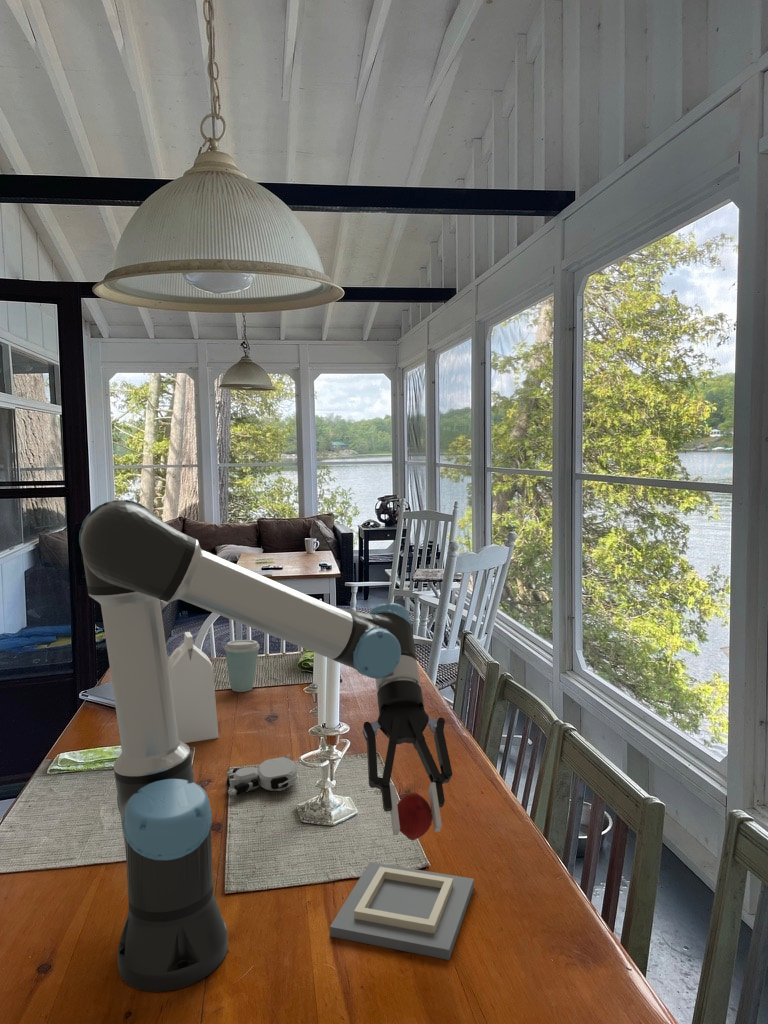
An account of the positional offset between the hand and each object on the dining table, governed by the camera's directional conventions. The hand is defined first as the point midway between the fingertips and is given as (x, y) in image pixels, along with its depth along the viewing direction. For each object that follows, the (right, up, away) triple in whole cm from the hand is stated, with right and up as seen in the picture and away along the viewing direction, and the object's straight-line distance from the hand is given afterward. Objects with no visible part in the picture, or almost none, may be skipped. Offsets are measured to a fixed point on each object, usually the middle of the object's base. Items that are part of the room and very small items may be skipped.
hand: (417, 830), depth 109 cm
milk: (-55, -10, +81) cm, 98 cm away
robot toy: (-31, -12, +49) cm, 59 cm away
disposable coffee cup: (-48, -7, +117) cm, 126 cm away
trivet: (-2, -15, +5) cm, 16 cm away
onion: (0, -3, +4) cm, 5 cm away
